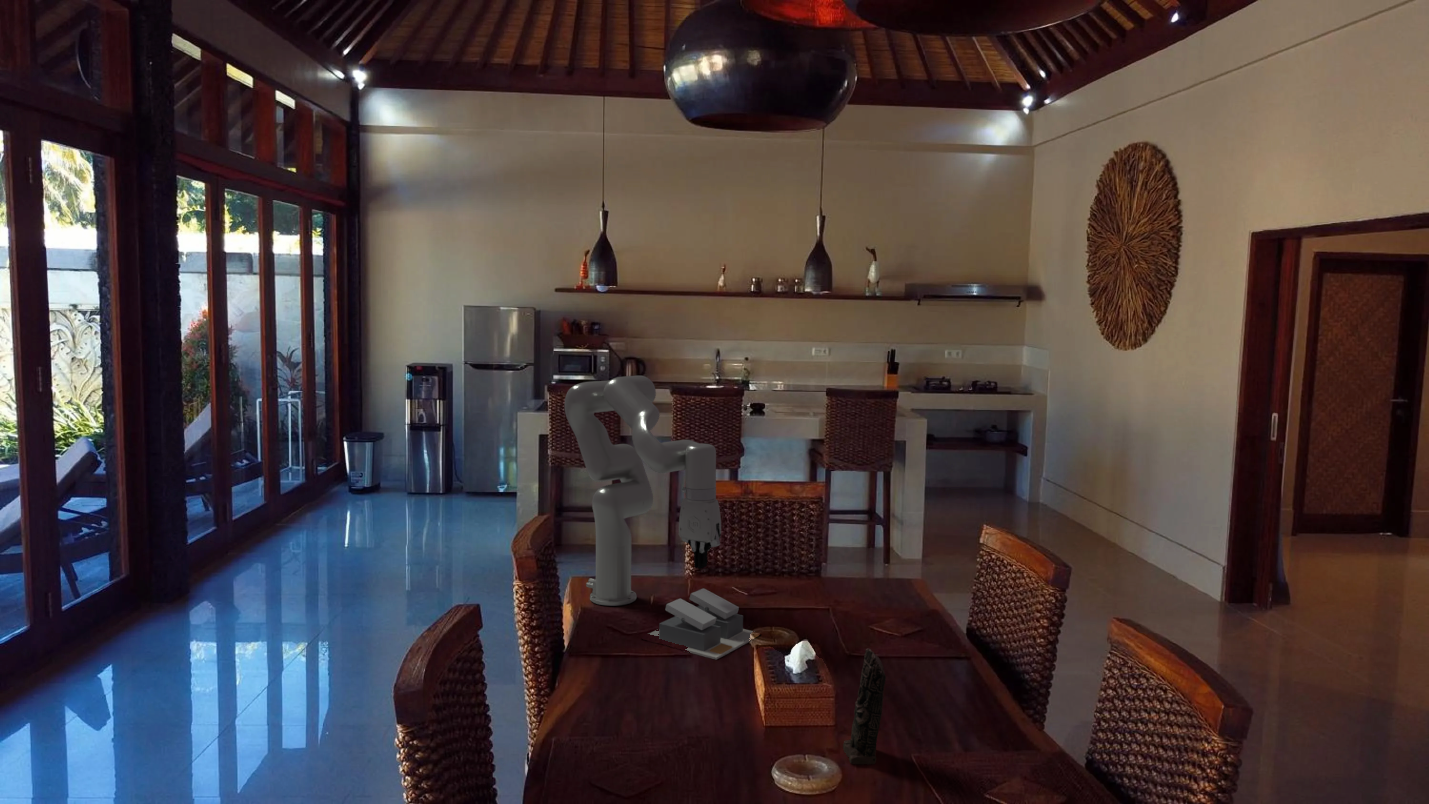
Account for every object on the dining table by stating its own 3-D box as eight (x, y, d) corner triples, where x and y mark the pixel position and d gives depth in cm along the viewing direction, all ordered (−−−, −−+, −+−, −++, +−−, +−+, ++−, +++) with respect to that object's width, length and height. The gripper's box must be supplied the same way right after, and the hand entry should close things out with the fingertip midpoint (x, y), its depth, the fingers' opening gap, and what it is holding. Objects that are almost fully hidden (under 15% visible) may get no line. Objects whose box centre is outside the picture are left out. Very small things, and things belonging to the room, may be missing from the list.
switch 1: (664, 612, 237) (666, 604, 236) (678, 606, 241) (680, 598, 241) (701, 632, 231) (703, 624, 230) (714, 625, 236) (716, 617, 235)
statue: (841, 747, 184) (845, 644, 182) (879, 746, 185) (883, 643, 182) (849, 765, 177) (853, 657, 175) (888, 764, 178) (893, 657, 176)
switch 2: (688, 601, 245) (690, 593, 244) (701, 595, 249) (703, 588, 249) (724, 621, 239) (726, 613, 239) (736, 615, 244) (739, 607, 243)
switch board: (640, 639, 239) (640, 621, 238) (688, 617, 255) (688, 600, 255) (716, 659, 226) (716, 640, 226) (761, 635, 243) (761, 617, 243)
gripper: (667, 493, 244) (667, 565, 246) (717, 500, 236) (717, 575, 238) (684, 488, 251) (684, 559, 252) (734, 495, 242) (734, 568, 244)
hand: (700, 566), depth 245 cm, fingers closed
